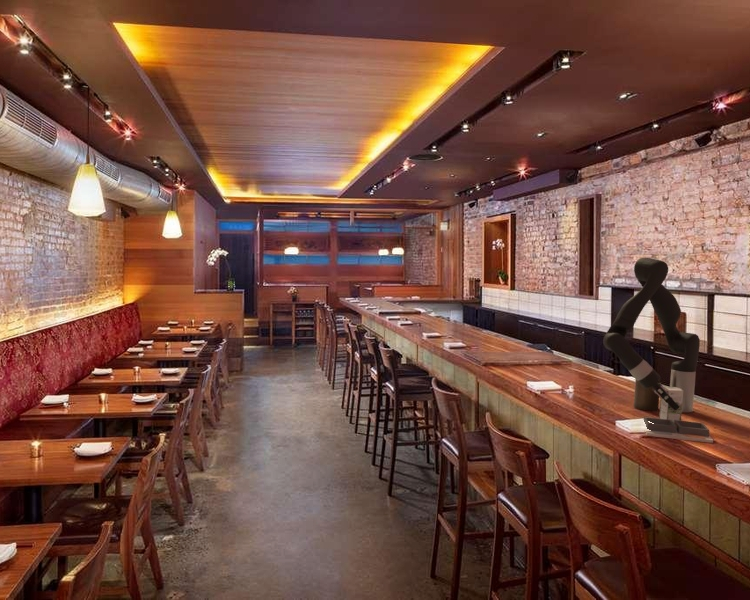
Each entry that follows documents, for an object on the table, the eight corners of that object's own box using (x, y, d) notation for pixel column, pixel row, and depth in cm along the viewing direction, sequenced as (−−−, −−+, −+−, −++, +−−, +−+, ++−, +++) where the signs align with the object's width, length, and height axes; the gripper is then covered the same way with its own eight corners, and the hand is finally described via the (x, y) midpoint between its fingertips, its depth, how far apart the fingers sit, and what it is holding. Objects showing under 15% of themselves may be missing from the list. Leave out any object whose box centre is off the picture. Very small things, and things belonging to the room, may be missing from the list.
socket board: (641, 425, 224) (641, 416, 224) (703, 431, 218) (704, 422, 218) (646, 435, 211) (647, 426, 210) (712, 442, 205) (713, 433, 204)
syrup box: (672, 423, 229) (675, 386, 228) (680, 427, 223) (683, 389, 222) (658, 422, 229) (660, 386, 228) (666, 427, 223) (668, 389, 222)
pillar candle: (661, 412, 245) (663, 376, 244) (636, 410, 247) (638, 374, 246) (654, 406, 255) (657, 372, 254) (630, 404, 257) (633, 370, 256)
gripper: (655, 370, 219) (687, 404, 217) (649, 364, 233) (679, 396, 231) (638, 383, 221) (670, 417, 219) (633, 376, 235) (663, 408, 233)
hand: (675, 406), depth 225 cm, fingers closed on syrup box, 7 cm apart
